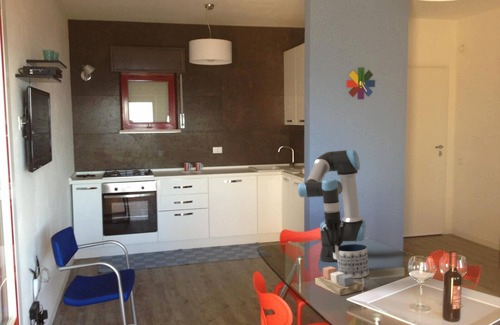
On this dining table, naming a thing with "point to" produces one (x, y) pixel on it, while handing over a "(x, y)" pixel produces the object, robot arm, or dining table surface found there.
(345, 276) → the key
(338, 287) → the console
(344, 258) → the planter
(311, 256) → the dining table surface
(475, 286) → the dining table surface
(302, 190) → the robot arm
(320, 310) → the dining table surface
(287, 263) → the dining table surface
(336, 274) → the key mid
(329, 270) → the key
